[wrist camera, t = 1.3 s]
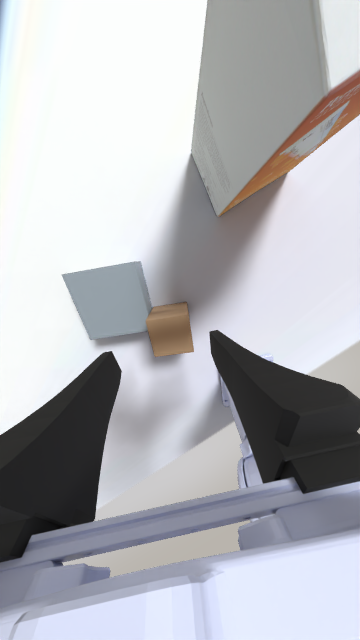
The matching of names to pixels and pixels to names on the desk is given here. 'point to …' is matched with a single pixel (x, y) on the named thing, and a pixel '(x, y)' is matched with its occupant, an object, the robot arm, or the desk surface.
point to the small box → (271, 89)
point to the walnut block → (170, 329)
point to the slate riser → (111, 299)
